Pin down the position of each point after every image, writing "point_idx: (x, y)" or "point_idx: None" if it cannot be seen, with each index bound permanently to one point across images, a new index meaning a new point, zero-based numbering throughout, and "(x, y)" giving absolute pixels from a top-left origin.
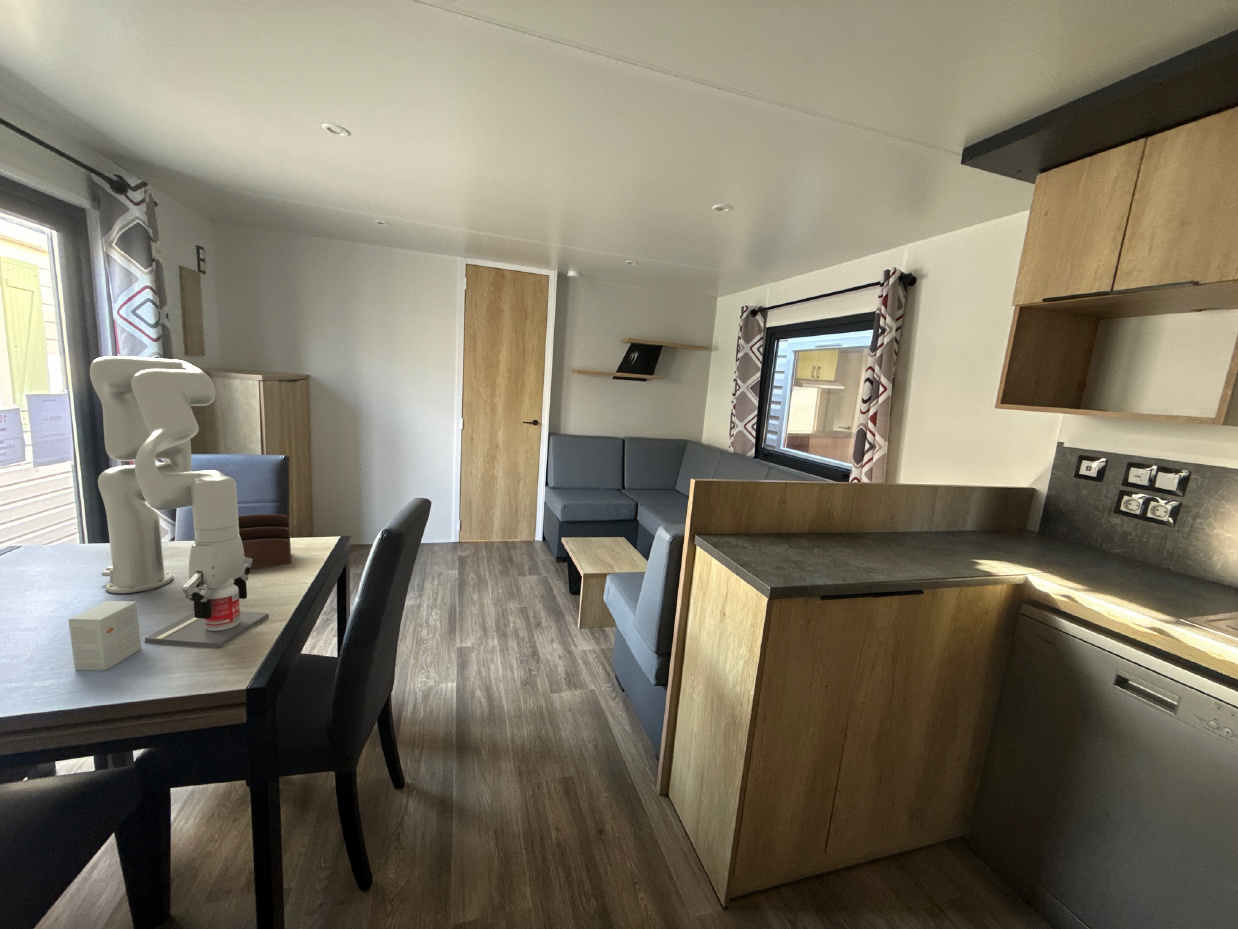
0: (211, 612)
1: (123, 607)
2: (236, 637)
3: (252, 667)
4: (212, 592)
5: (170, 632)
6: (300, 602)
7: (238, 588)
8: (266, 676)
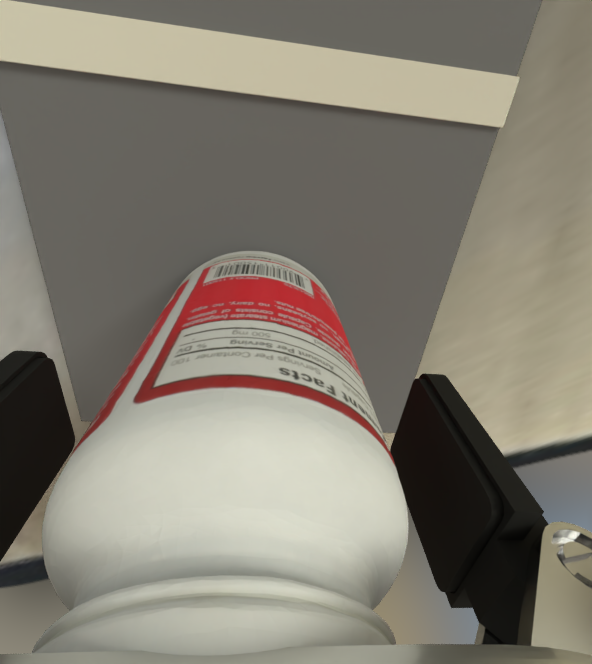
0: (55, 475)
1: None
2: None
3: (26, 545)
4: (67, 606)
5: (83, 54)
6: (529, 450)
7: (435, 503)
8: (5, 585)
